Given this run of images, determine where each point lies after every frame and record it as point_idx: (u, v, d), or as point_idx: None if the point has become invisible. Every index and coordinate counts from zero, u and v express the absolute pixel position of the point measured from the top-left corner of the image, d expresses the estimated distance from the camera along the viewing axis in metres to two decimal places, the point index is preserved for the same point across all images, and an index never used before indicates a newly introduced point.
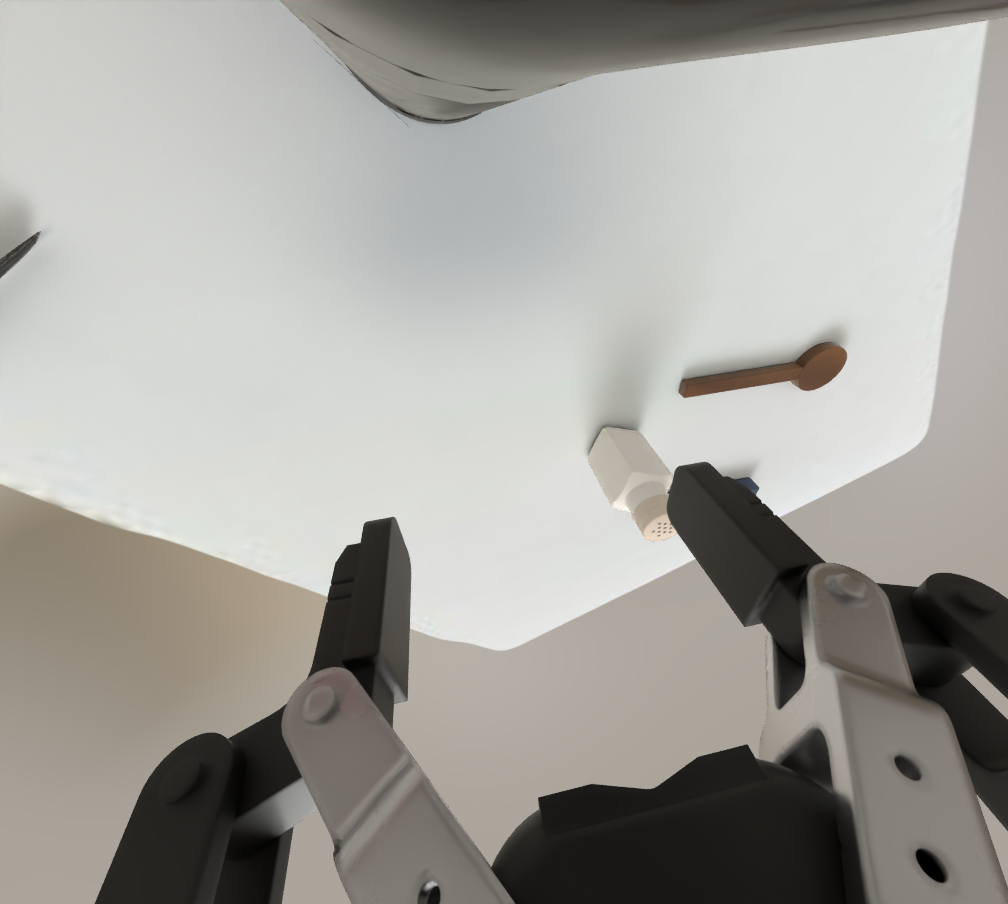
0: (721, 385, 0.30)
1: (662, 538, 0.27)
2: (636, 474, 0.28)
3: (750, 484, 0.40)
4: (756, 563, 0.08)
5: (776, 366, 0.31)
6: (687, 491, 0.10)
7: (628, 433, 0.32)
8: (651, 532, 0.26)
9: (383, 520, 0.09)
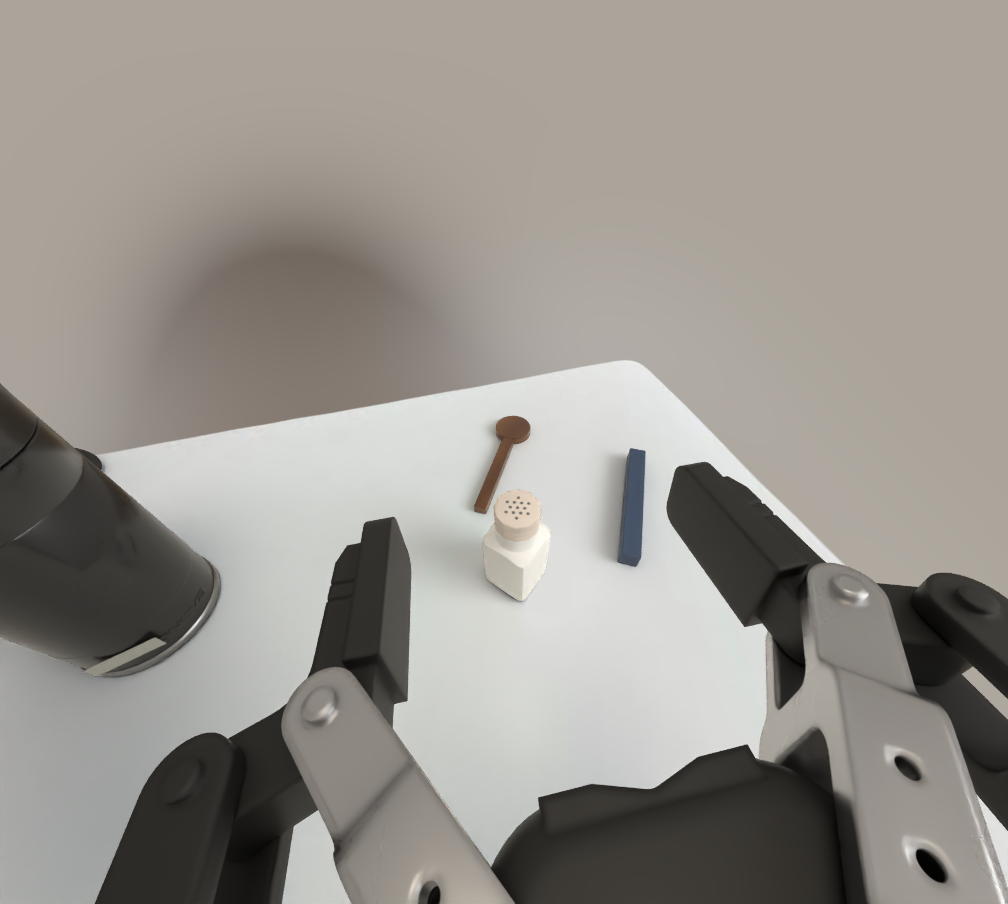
0: (488, 483, 0.38)
1: (536, 510, 0.25)
2: (485, 538, 0.28)
3: (628, 455, 0.40)
4: (756, 563, 0.08)
5: None
6: (687, 491, 0.10)
7: None
8: (515, 520, 0.25)
9: (383, 520, 0.09)
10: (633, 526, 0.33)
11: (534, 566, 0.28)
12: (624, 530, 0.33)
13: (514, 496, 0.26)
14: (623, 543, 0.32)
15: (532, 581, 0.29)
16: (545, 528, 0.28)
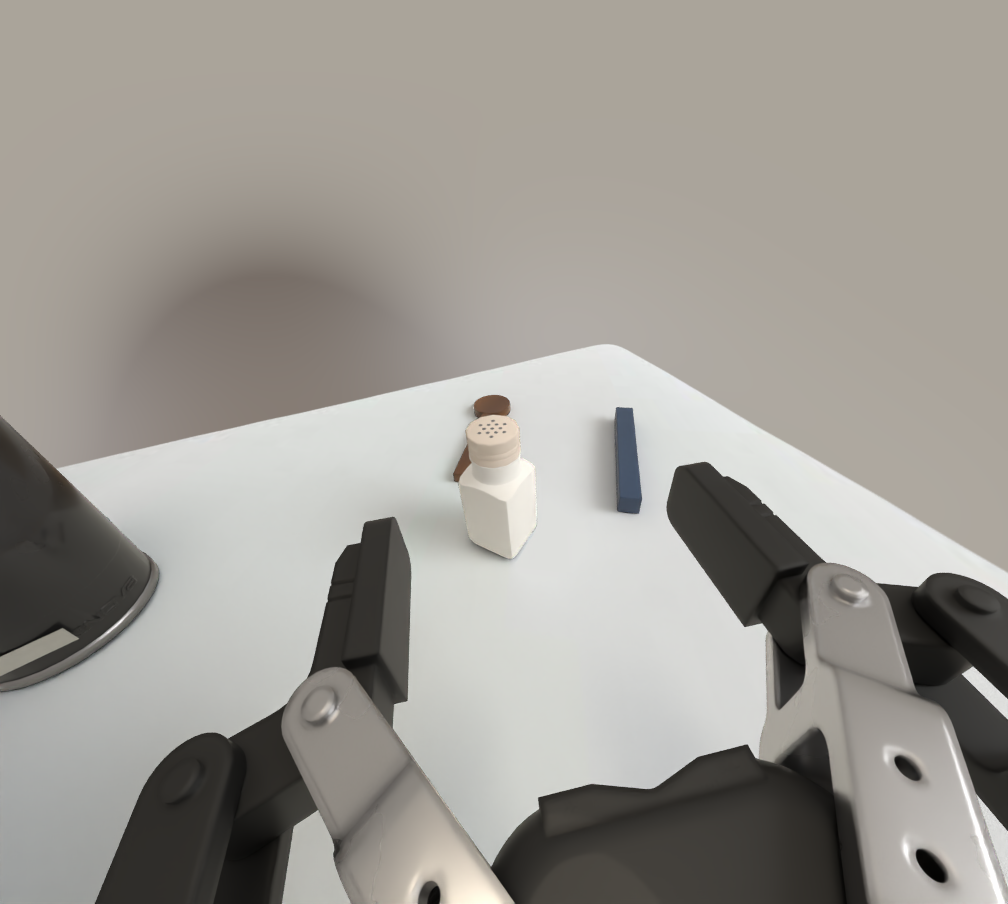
0: (468, 452, 0.35)
1: (513, 428, 0.22)
2: (461, 478, 0.24)
3: (615, 415, 0.38)
4: (756, 563, 0.08)
5: None
6: (687, 491, 0.10)
7: None
8: (490, 438, 0.21)
9: (383, 520, 0.09)
10: (629, 472, 0.30)
11: (520, 506, 0.24)
12: (619, 476, 0.30)
13: (487, 420, 0.23)
14: (620, 488, 0.29)
15: (521, 530, 0.25)
16: (528, 463, 0.25)
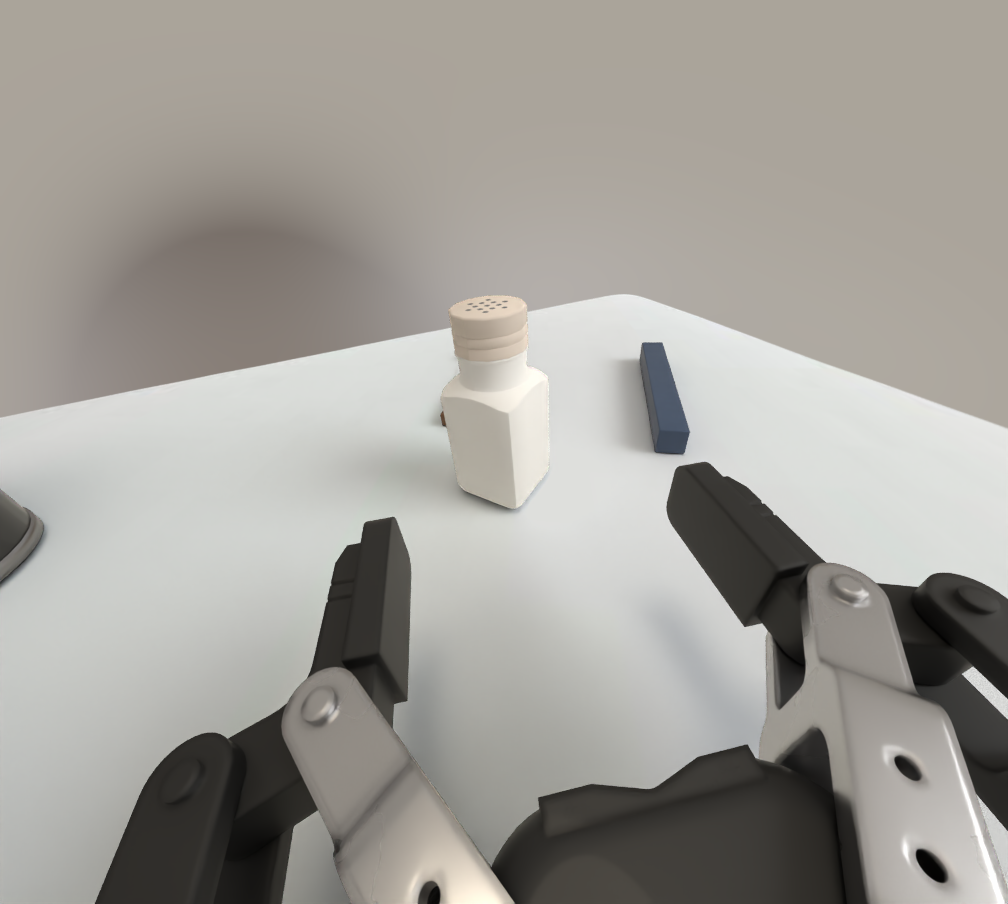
0: None
1: (517, 304, 0.15)
2: (444, 390, 0.17)
3: (641, 352, 0.31)
4: (756, 563, 0.08)
5: None
6: (687, 491, 0.10)
7: None
8: (484, 313, 0.14)
9: (383, 520, 0.09)
10: (668, 403, 0.23)
11: (528, 427, 0.17)
12: (656, 408, 0.23)
13: (481, 300, 0.16)
14: (659, 420, 0.22)
15: (529, 466, 0.18)
16: (539, 371, 0.18)
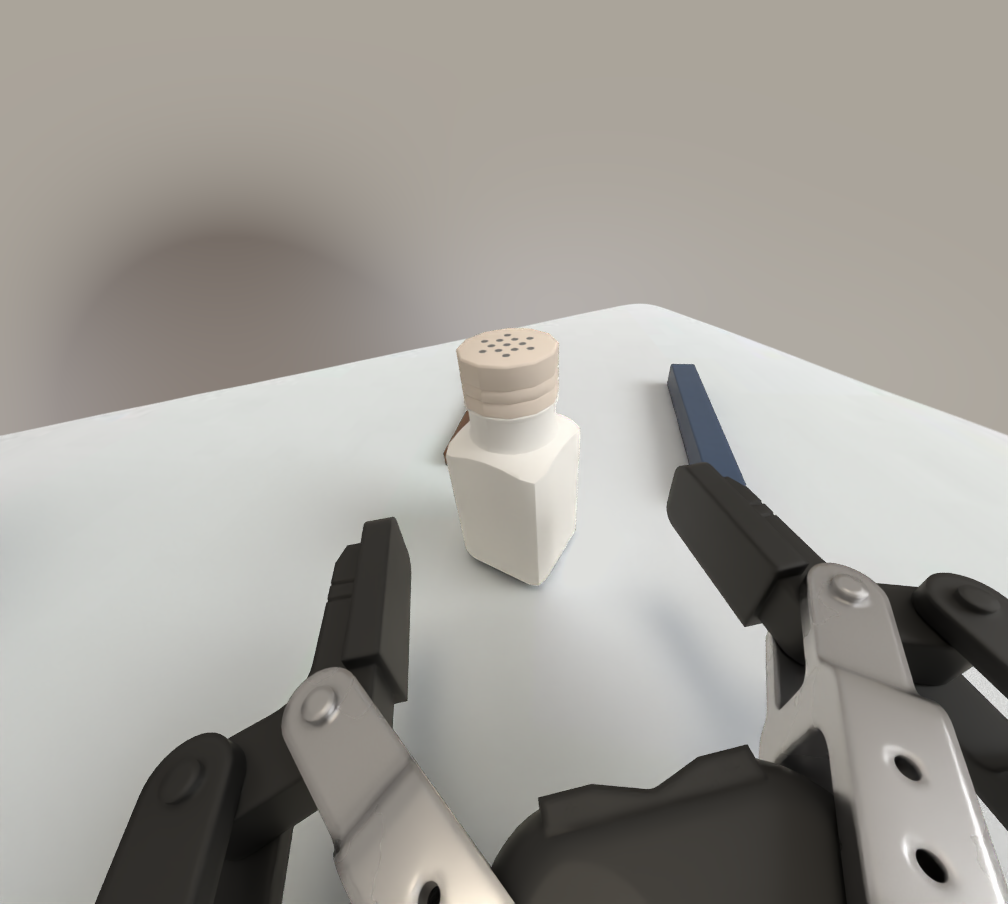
0: None
1: (547, 343, 0.12)
2: (450, 446, 0.14)
3: (670, 375, 0.27)
4: (756, 563, 0.08)
5: None
6: (687, 491, 0.10)
7: None
8: (505, 357, 0.11)
9: (383, 520, 0.09)
10: (713, 445, 0.19)
11: (556, 494, 0.13)
12: (700, 452, 0.19)
13: (498, 334, 0.12)
14: None
15: (555, 537, 0.15)
16: (568, 420, 0.14)
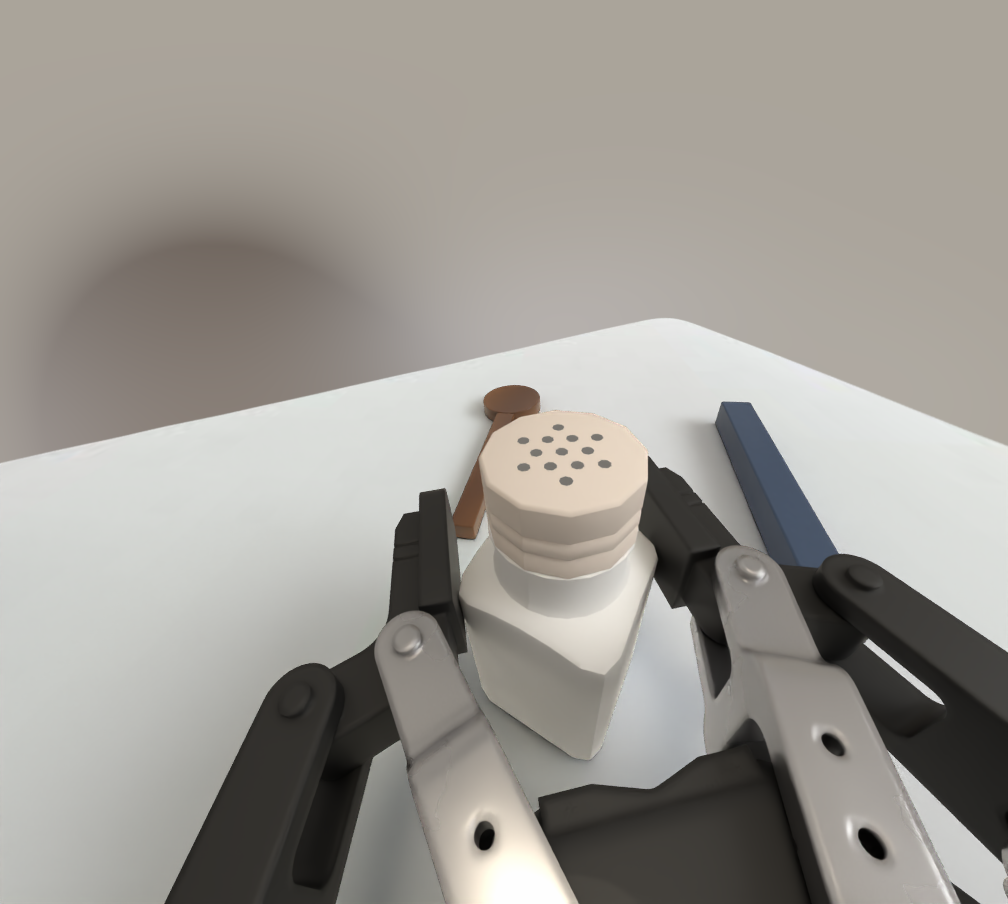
0: (476, 482, 0.20)
1: (630, 453, 0.07)
2: (464, 581, 0.09)
3: (720, 415, 0.23)
4: (676, 547, 0.09)
5: None
6: None
7: None
8: (565, 487, 0.06)
9: (437, 491, 0.10)
10: (803, 528, 0.15)
11: (626, 657, 0.09)
12: (788, 538, 0.15)
13: (542, 425, 0.08)
14: None
15: (615, 700, 0.10)
16: (638, 535, 0.10)
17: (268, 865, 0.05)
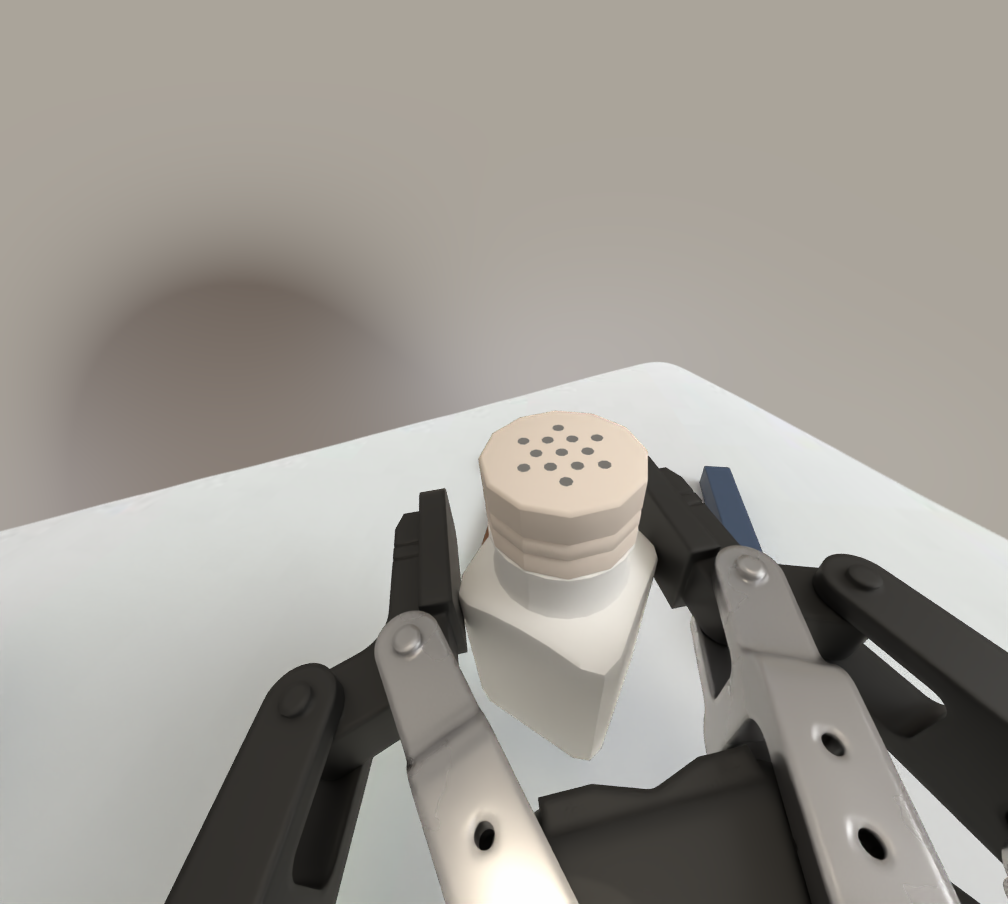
0: None
1: (630, 453, 0.07)
2: (464, 582, 0.09)
3: (703, 478, 0.26)
4: (676, 547, 0.09)
5: None
6: None
7: None
8: (565, 488, 0.06)
9: (437, 490, 0.10)
10: None
11: (626, 657, 0.09)
12: None
13: (543, 425, 0.08)
14: None
15: (615, 700, 0.10)
16: (638, 535, 0.10)
17: (268, 865, 0.05)
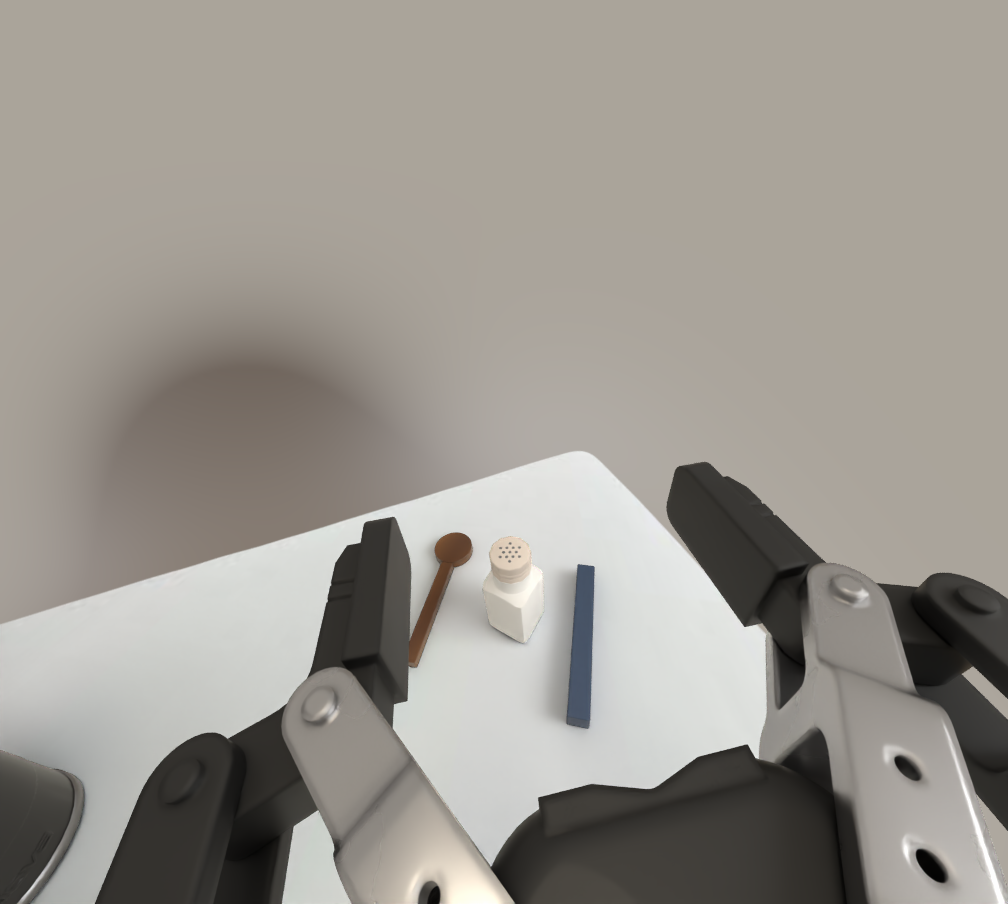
0: (420, 626, 0.34)
1: (526, 553, 0.29)
2: (484, 584, 0.31)
3: None
4: (756, 563, 0.08)
5: None
6: (687, 491, 0.10)
7: None
8: (509, 563, 0.28)
9: (383, 520, 0.09)
10: (581, 674, 0.29)
11: (531, 606, 0.30)
12: (570, 681, 0.28)
13: (506, 542, 0.30)
14: (569, 701, 0.27)
15: (531, 622, 0.32)
16: (537, 570, 0.31)
17: None
